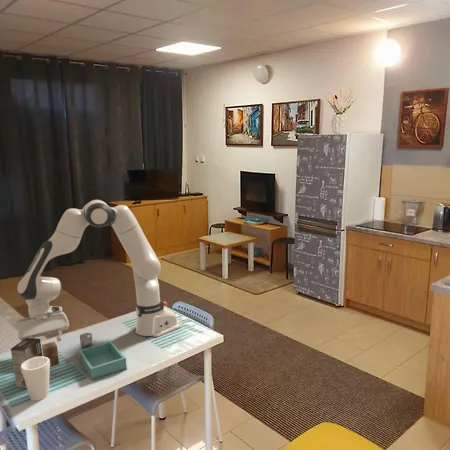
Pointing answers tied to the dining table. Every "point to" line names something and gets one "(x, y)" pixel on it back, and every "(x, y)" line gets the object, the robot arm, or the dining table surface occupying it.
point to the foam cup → (36, 377)
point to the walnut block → (51, 352)
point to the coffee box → (24, 357)
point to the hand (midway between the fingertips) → (47, 343)
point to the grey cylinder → (86, 340)
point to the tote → (102, 360)
